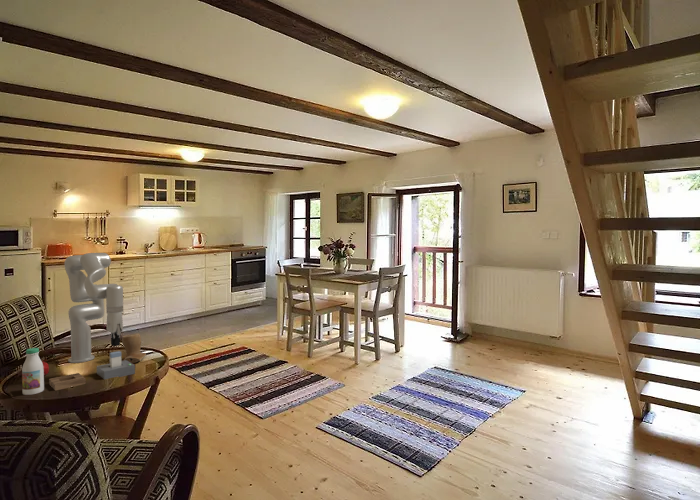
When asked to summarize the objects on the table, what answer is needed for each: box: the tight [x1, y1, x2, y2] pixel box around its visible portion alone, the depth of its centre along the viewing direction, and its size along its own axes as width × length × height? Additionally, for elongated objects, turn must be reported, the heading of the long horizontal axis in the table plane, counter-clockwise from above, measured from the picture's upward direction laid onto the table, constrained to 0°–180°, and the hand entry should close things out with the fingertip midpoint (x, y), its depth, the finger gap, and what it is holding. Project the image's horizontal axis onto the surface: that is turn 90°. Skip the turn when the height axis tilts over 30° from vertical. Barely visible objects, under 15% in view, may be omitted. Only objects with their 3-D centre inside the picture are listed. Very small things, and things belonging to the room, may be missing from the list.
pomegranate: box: [40, 358, 50, 377], centre depth 207 cm, size 10×10×9 cm
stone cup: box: [121, 332, 147, 364], centre depth 233 cm, size 15×12×15 cm
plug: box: [109, 350, 122, 368], centre depth 210 cm, size 3×5×11 cm
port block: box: [96, 359, 136, 380], centre depth 210 cm, size 12×14×5 cm
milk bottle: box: [21, 347, 45, 396], centre depth 184 cm, size 8×8×20 cm
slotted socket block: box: [48, 372, 87, 391], centre depth 194 cm, size 12×12×3 cm
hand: (115, 345), depth 209 cm, fingers closed
